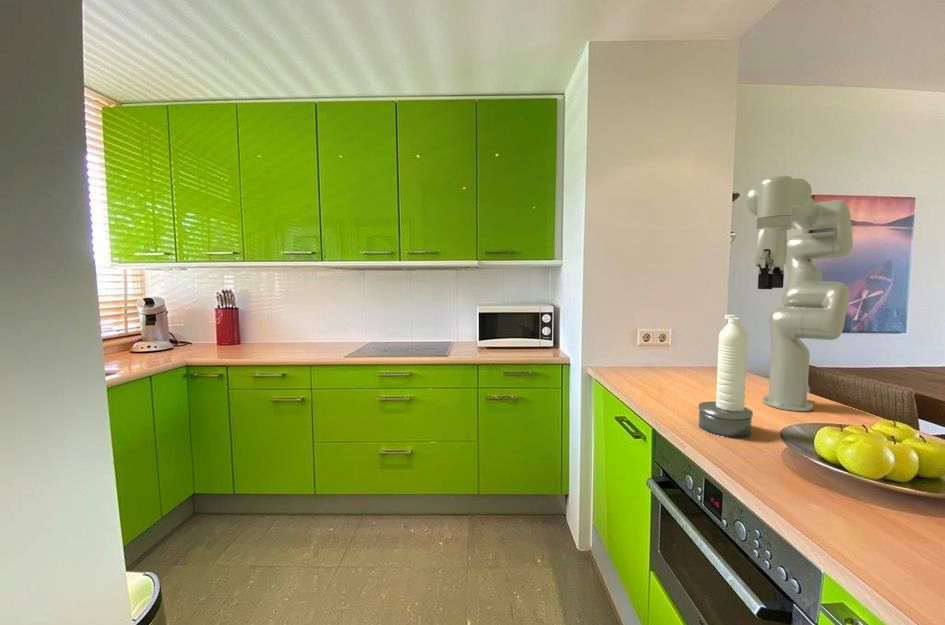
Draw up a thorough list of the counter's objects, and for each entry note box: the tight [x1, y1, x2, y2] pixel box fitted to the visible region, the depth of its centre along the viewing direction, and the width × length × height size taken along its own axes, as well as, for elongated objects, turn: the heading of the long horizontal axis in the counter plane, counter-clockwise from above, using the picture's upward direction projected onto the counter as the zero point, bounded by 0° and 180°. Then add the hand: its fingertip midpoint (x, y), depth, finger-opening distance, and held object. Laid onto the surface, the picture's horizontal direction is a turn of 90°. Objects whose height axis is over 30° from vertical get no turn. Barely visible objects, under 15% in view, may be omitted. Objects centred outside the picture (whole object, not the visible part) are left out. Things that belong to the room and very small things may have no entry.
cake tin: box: [698, 401, 753, 439], centre depth 106 cm, size 12×12×6 cm
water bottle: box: [715, 314, 749, 412], centre depth 106 cm, size 9×6×25 cm
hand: (770, 288), depth 106 cm, fingers open, 9 cm apart
